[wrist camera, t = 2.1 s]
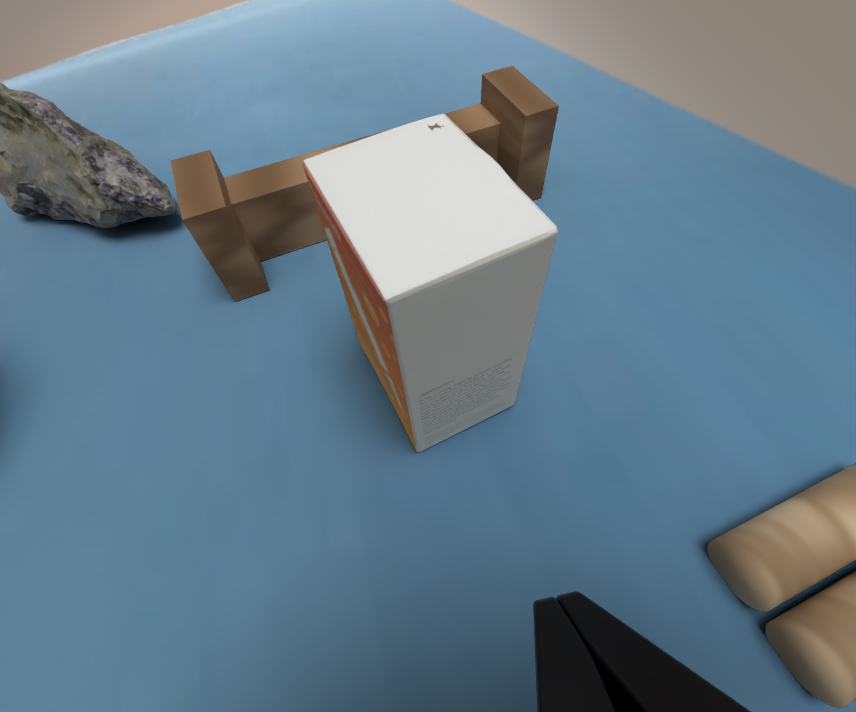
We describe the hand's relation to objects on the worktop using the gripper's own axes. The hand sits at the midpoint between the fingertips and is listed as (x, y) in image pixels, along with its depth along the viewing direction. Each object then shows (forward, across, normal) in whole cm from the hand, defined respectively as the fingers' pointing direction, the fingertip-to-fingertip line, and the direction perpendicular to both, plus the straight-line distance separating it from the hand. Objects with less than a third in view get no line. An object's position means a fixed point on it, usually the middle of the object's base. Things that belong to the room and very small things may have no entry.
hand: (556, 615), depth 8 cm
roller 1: (+11, -15, +8) cm, 20 cm away
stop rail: (+29, +1, -10) cm, 30 cm away
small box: (+19, 0, 0) cm, 19 cm away
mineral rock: (+34, +23, -14) cm, 43 cm away
